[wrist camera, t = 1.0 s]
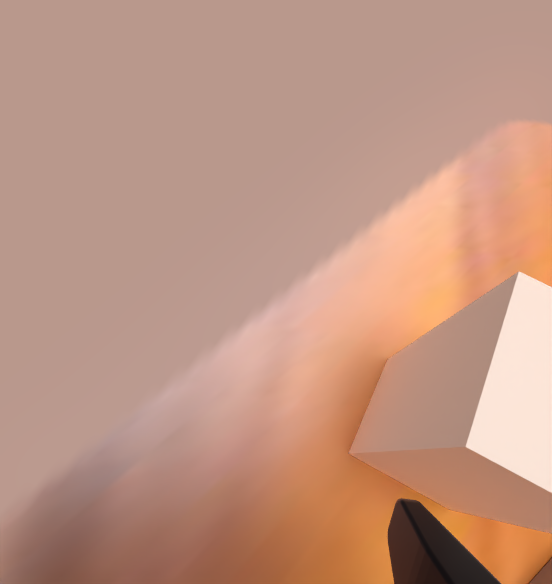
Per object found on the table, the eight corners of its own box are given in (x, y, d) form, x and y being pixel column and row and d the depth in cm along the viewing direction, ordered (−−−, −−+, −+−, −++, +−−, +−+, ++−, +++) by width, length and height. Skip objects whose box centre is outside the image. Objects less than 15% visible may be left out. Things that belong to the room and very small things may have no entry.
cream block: (449, 509, 22) (685, 564, 10) (348, 453, 22) (465, 446, 11) (479, 407, 24) (702, 359, 13) (387, 359, 25) (518, 271, 13)
